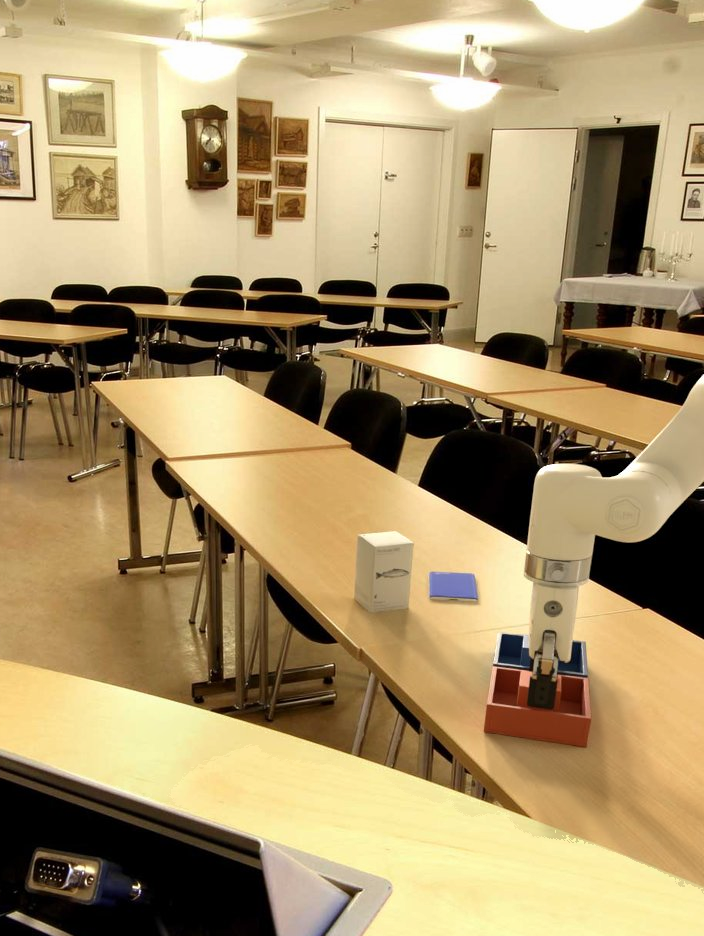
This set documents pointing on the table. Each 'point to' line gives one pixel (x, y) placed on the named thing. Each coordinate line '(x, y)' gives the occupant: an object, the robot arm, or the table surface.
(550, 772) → the table surface
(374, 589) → the white packaging box
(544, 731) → the rust bin
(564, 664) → the blue bin
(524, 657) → the blue block
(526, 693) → the rust block
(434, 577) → the hard drive
